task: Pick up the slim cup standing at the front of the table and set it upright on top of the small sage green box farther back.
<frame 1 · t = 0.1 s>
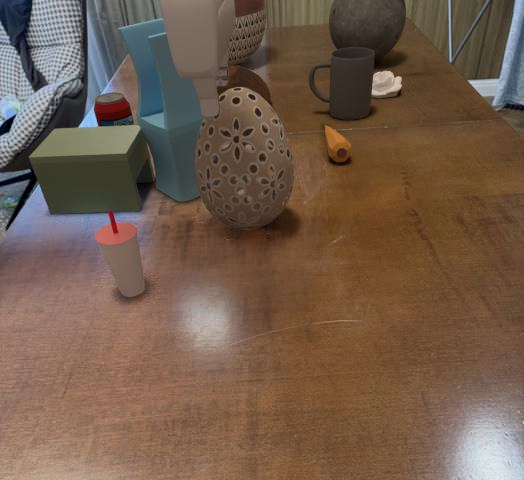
hand: (216, 98, 55), 23 cm above the table, tool pointing down, fingers open, 8 cm apart
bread: (210, 110, 120), on the table
decorative sphere: (363, 62, 140), on the table
ornament: (249, 224, 81), on the table
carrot: (334, 145, 101), on the table
beverage can: (125, 161, 102), on the table
sage green box: (104, 195, 91), on the table
rose: (382, 92, 122), on the table
mug: (339, 114, 113), on the table
vase: (189, 186, 92), on the table
planter: (223, 64, 147), on the table
cup: (133, 290, 70), on the table
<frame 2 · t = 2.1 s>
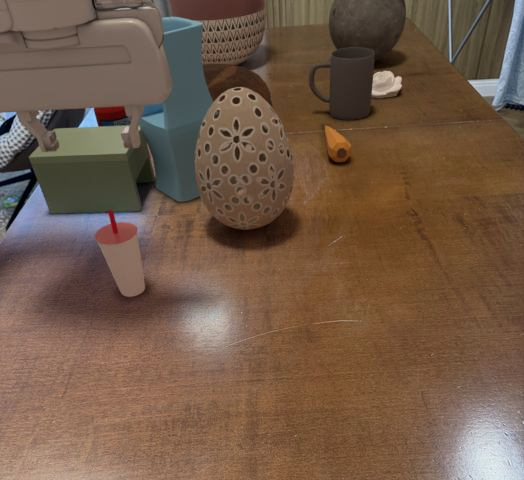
hand: (91, 148, 56), 20 cm above the table, tool pointing down, fingers open, 8 cm apart
nothing on the table moved.
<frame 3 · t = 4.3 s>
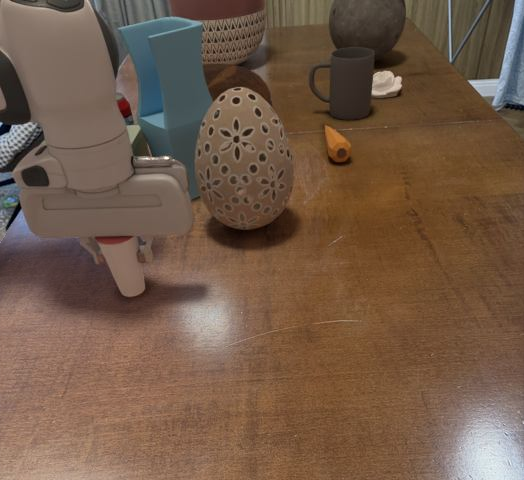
hand: (124, 261, 67), 5 cm above the table, tool pointing down, fingers closed on cup, 4 cm apart
cup: (133, 290, 70), on the table, touching gripper
everything else where it was.
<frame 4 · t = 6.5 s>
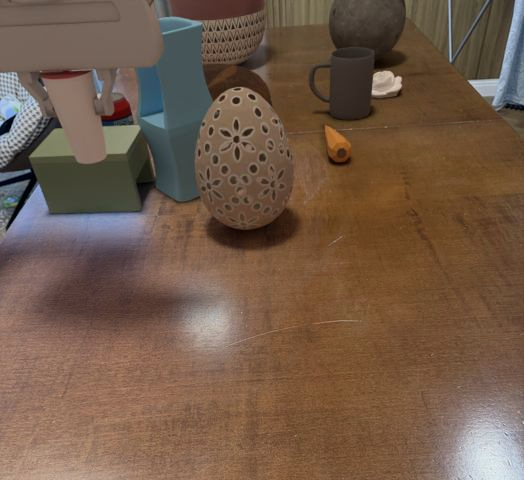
hand: (79, 114, 54), 23 cm above the table, tool pointing down, fingers closed on cup, 4 cm apart
cup: (92, 159, 57), point 18 cm above the table, touching gripper
everything else where it was.
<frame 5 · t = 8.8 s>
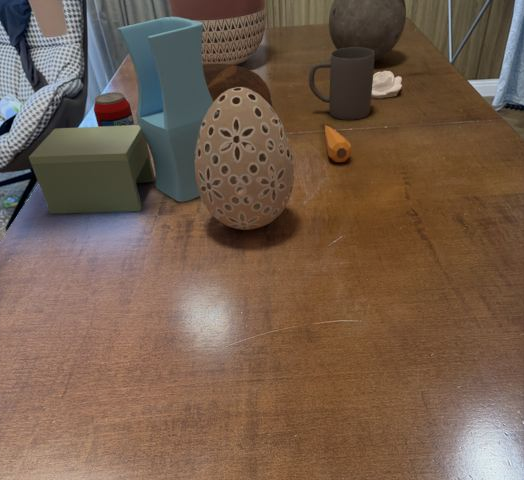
cup: (56, 36, 69), point 26 cm above the table, touching gripper
everything else where it was.
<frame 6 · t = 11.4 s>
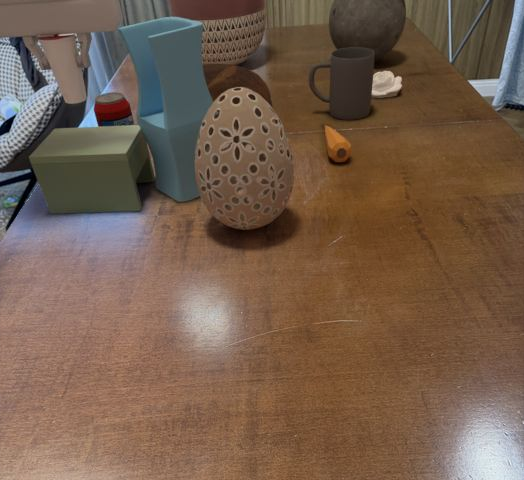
hand: (66, 68, 76), 21 cm above the table, tool pointing down, fingers closed on cup, 4 cm apart
cup: (76, 101, 80), point 16 cm above the table, touching gripper
everything else where it was.
when the fingers open (14 cm above the table, at t = 13.3 s): cup stays where it is, resting on sage green box.
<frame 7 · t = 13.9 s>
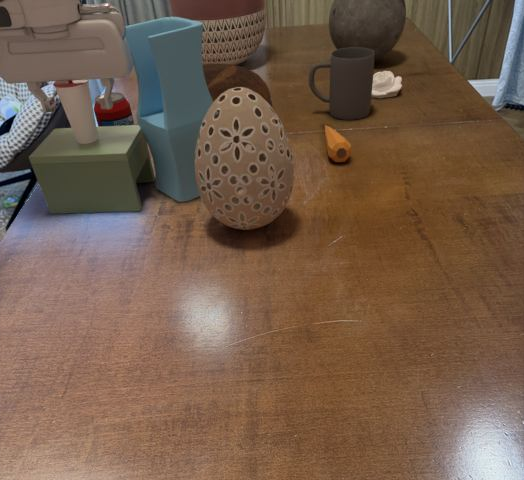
hand: (78, 109, 80), 15 cm above the table, tool pointing down, fingers open, 8 cm apart
cup: (88, 141, 84), point 10 cm above the table, touching sage green box
everything else where it was.
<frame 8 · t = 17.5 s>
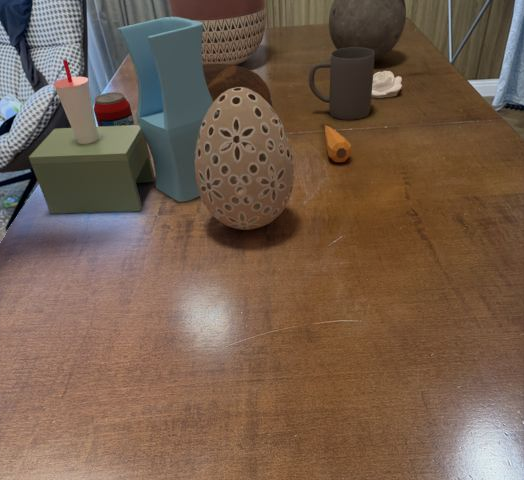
nothing on the table moved.
at the end: cup inside the target area on the sage green box (0.0 cm from its centre), point 9.8 cm above the sage green box's base; cup tilted 0°; the gripper is holding nothing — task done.
